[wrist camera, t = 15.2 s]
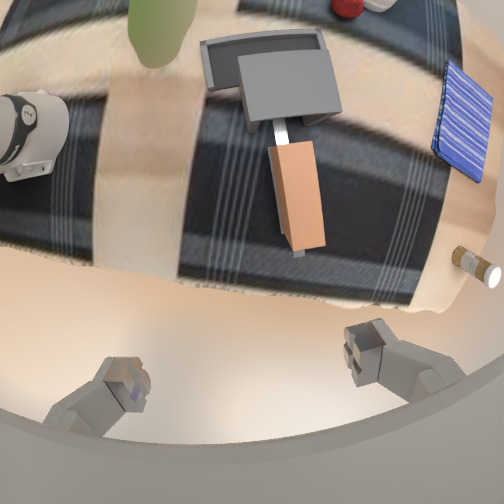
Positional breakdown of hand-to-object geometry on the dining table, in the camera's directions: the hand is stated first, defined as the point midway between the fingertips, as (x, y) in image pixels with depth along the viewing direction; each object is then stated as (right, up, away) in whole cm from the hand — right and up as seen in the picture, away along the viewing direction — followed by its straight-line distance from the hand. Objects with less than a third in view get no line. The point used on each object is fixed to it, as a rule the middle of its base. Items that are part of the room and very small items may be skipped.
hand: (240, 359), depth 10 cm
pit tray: (+3, +36, +27) cm, 45 cm away
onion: (+17, +48, +23) cm, 56 cm away
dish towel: (+46, +32, +30) cm, 64 cm away
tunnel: (+4, +27, +30) cm, 41 cm away
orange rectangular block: (+7, +15, +34) cm, 38 cm away
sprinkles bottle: (+47, +3, +40) cm, 62 cm away
